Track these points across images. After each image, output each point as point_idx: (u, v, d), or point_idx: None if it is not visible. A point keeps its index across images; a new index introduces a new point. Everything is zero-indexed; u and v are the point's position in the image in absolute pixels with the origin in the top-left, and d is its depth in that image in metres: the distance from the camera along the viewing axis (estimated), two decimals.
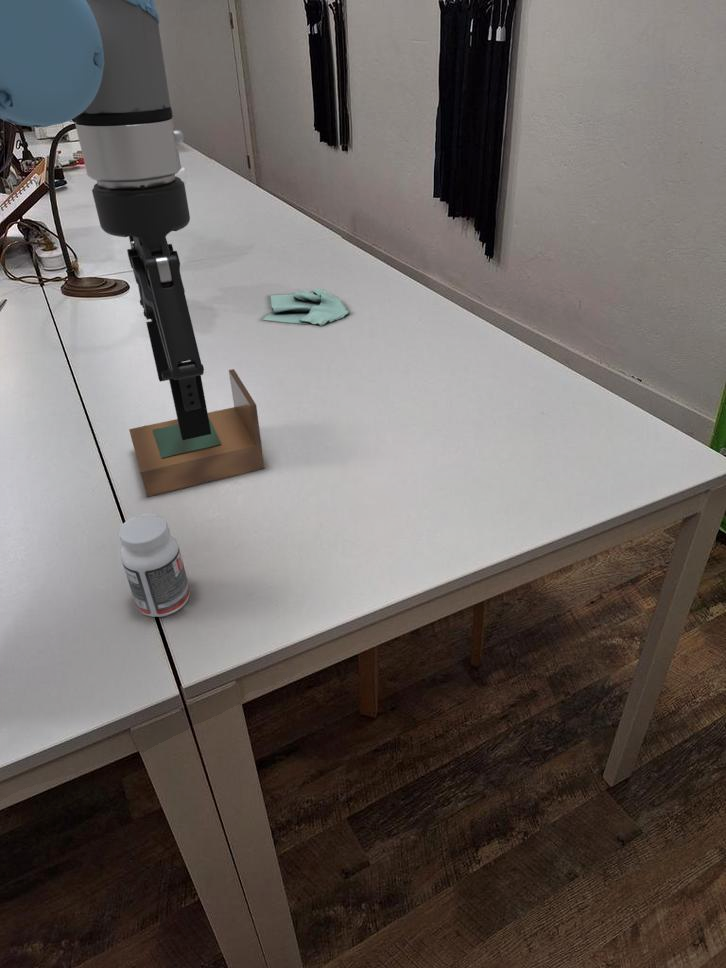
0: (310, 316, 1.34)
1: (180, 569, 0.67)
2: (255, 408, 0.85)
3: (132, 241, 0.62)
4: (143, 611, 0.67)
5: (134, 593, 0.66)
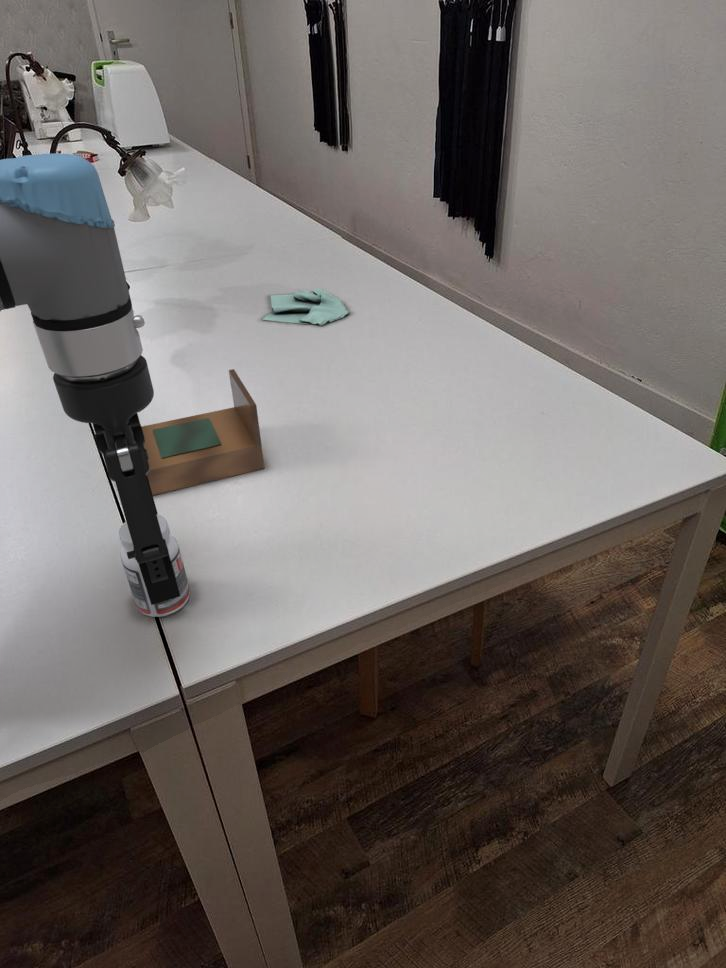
0: (310, 316, 1.34)
1: (180, 569, 0.67)
2: (255, 408, 0.85)
3: None
4: (143, 611, 0.67)
5: (134, 593, 0.66)
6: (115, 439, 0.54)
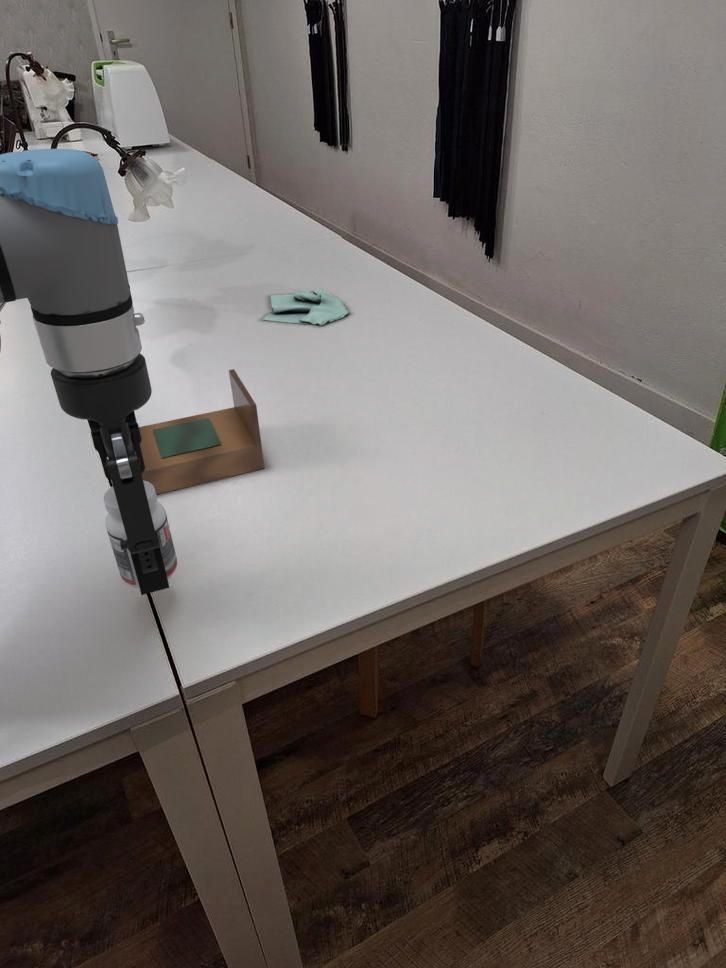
0: (310, 316, 1.34)
1: (167, 538, 0.64)
2: (255, 408, 0.85)
3: None
4: (128, 581, 0.65)
5: (119, 563, 0.64)
6: (113, 441, 0.54)
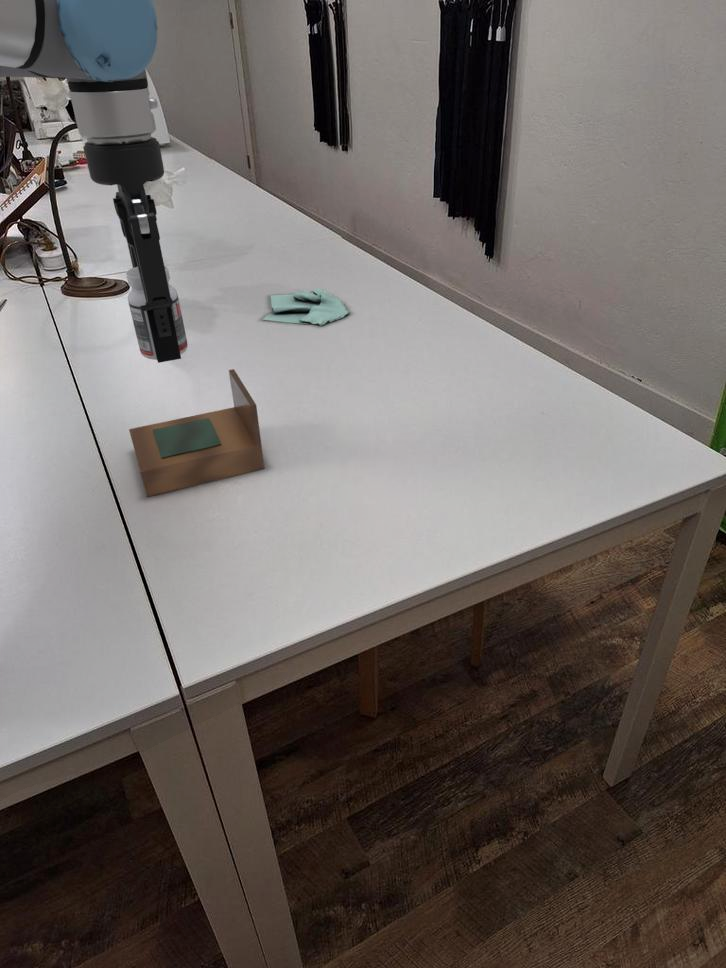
0: (310, 316, 1.34)
1: (178, 315, 0.77)
2: (255, 408, 0.85)
3: None
4: (147, 353, 0.78)
5: (139, 335, 0.77)
6: (134, 204, 0.67)
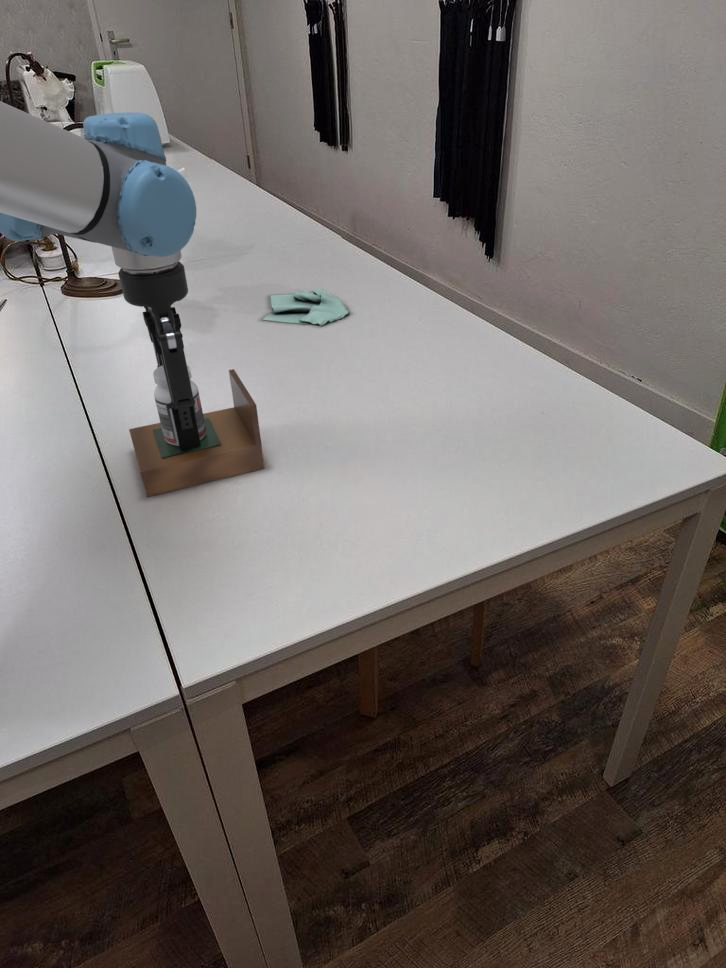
0: (310, 316, 1.34)
1: (199, 407, 0.86)
2: (255, 408, 0.85)
3: None
4: (170, 440, 0.87)
5: (164, 425, 0.86)
6: (162, 322, 0.76)
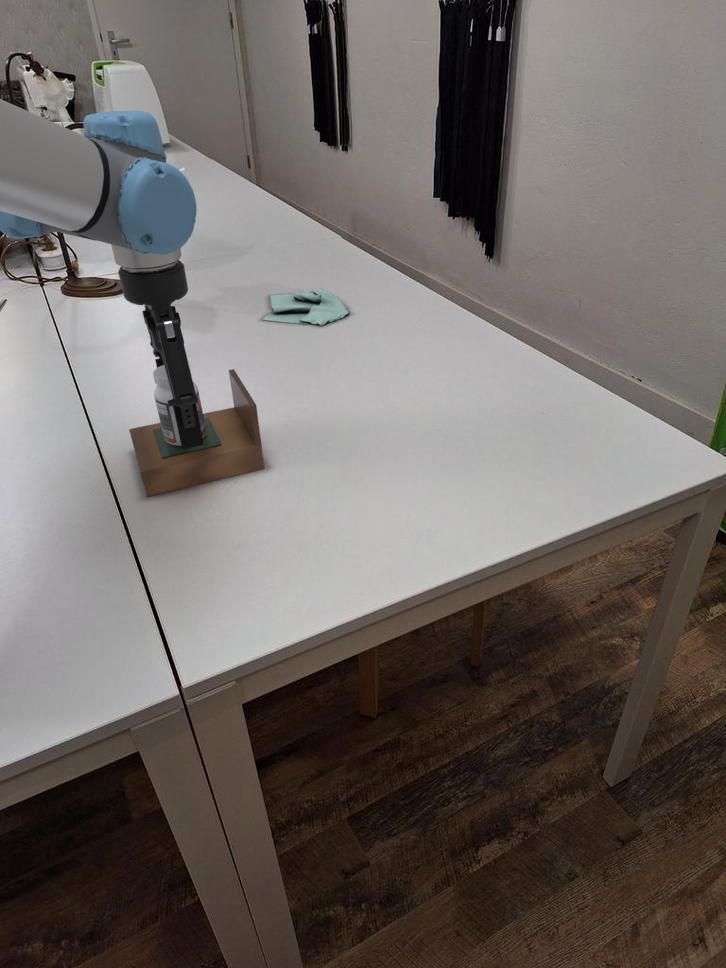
0: (310, 316, 1.34)
1: (199, 407, 0.86)
2: (255, 408, 0.85)
3: None
4: (170, 440, 0.87)
5: (164, 425, 0.86)
6: (161, 317, 0.76)
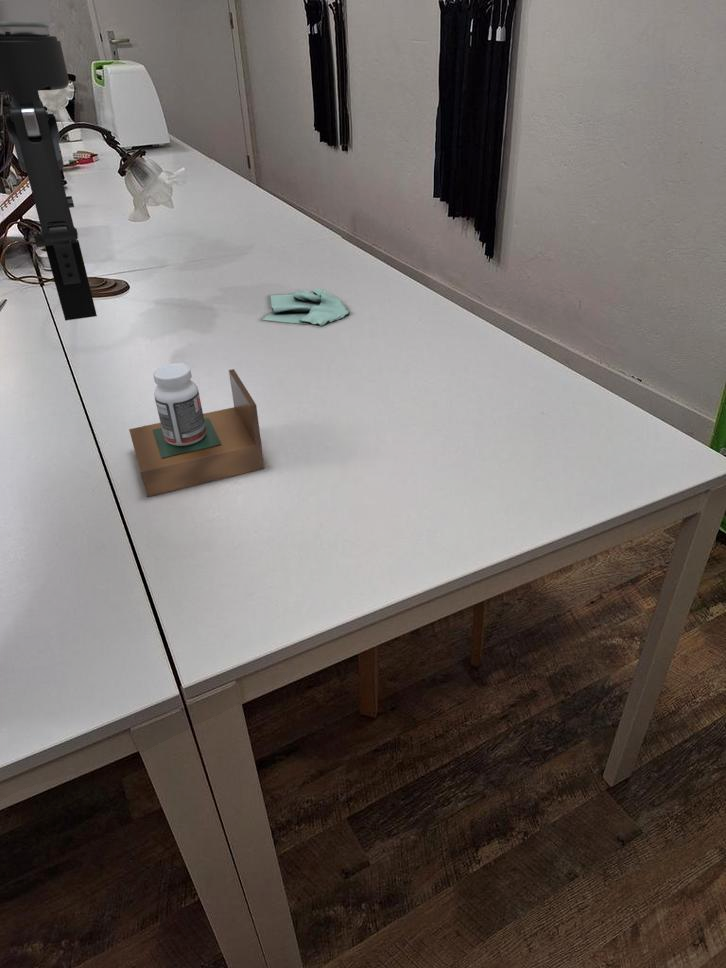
0: (310, 316, 1.34)
1: (199, 407, 0.86)
2: (255, 408, 0.85)
3: None
4: (170, 440, 0.87)
5: (164, 425, 0.86)
6: None
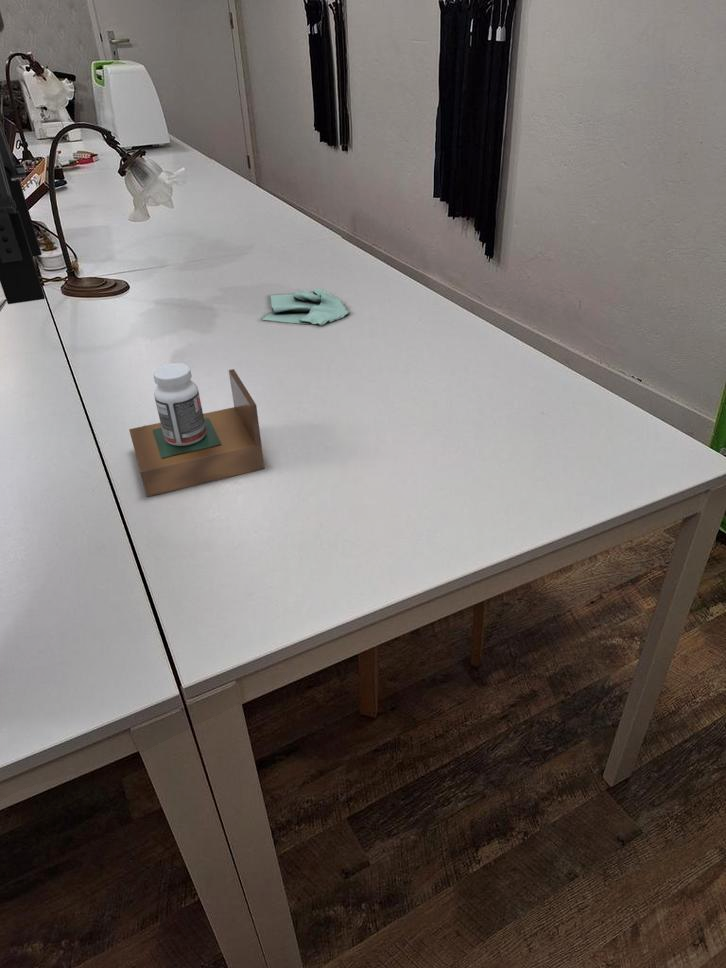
0: (310, 316, 1.34)
1: (199, 407, 0.86)
2: (255, 408, 0.85)
3: None
4: (170, 440, 0.87)
5: (164, 425, 0.86)
6: None
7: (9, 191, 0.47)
